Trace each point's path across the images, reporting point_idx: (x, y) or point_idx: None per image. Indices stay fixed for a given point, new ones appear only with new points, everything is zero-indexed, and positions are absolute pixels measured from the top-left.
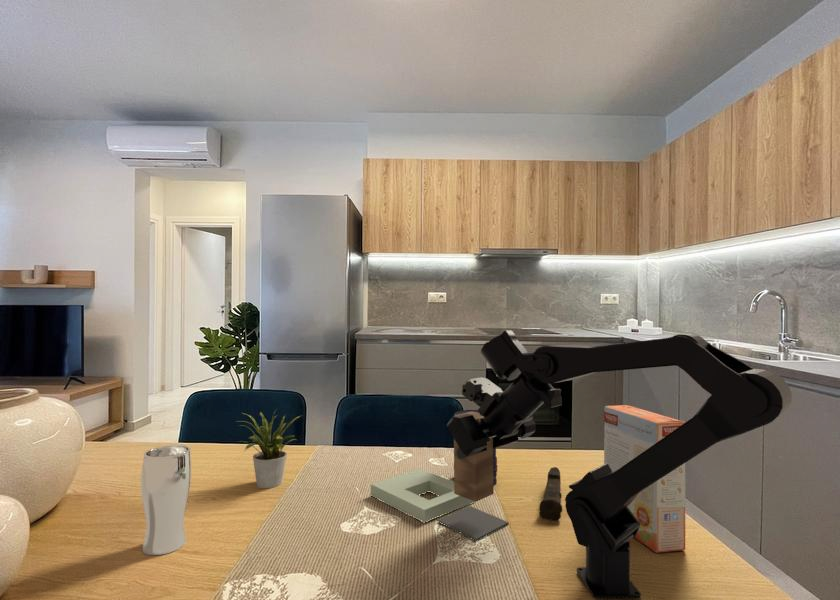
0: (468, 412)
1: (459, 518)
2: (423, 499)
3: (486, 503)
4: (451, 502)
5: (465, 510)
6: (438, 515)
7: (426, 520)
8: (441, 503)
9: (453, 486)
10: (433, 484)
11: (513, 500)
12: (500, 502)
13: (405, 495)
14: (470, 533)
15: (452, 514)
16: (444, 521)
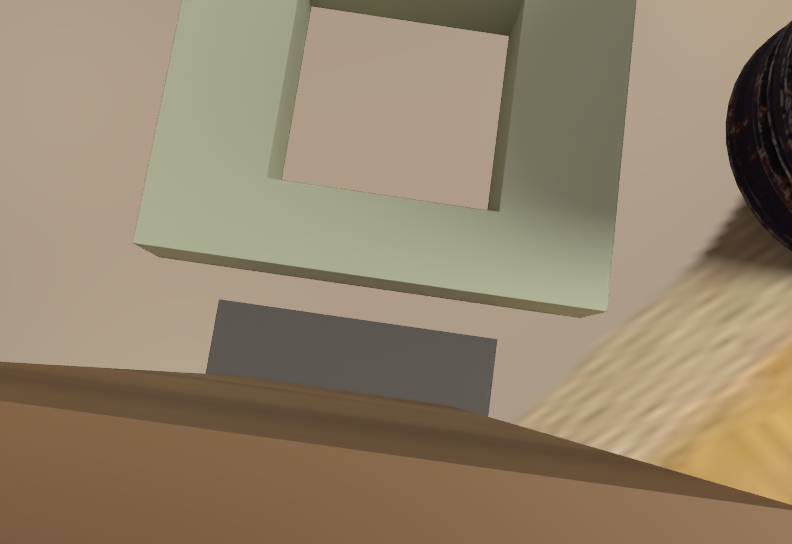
0: (539, 526)
1: (314, 383)
2: (253, 146)
3: (618, 378)
4: (373, 281)
5: (426, 351)
6: (266, 270)
7: (171, 256)
8: (282, 264)
9: (553, 171)
10: (517, 39)
11: (773, 486)
12: (690, 437)
13: (229, 27)
14: None
15: (332, 323)
16: (230, 337)
